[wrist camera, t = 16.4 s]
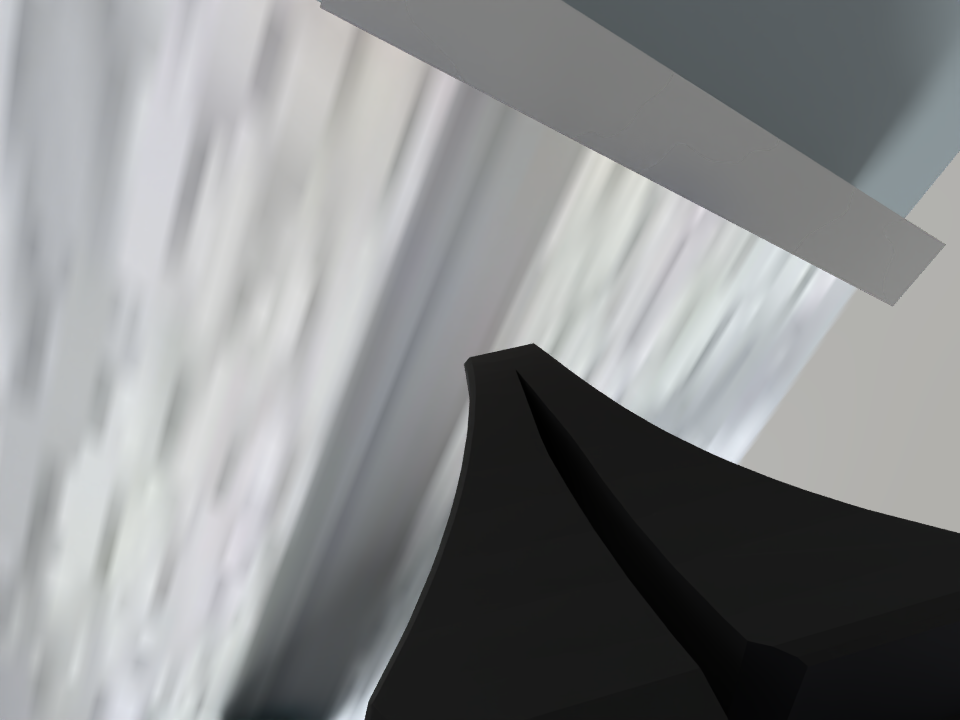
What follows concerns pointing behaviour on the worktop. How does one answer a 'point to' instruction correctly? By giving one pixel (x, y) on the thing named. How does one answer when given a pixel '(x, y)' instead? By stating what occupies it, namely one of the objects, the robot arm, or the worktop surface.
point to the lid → (729, 105)
